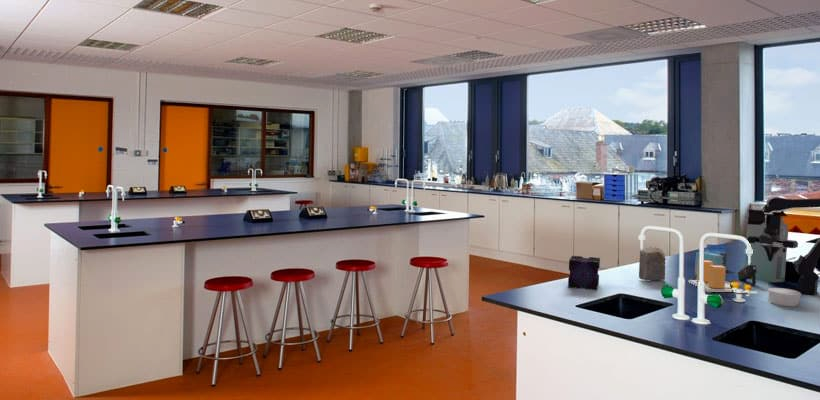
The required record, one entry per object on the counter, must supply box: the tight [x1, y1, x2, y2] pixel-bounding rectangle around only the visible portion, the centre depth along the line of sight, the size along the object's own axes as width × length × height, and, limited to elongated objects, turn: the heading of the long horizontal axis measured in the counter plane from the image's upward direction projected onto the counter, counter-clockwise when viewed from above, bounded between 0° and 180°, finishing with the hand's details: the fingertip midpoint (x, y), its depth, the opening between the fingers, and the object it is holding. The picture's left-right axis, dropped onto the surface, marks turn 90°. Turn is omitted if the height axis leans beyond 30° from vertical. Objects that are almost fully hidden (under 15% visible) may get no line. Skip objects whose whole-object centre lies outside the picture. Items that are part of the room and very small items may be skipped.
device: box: [743, 215, 789, 283], centre depth 294 cm, size 16×8×30 cm, turn 16°
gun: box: [737, 265, 757, 287], centre depth 285 cm, size 3×16×10 cm, turn 175°
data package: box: [694, 251, 723, 276], centre depth 293 cm, size 12×4×12 cm, turn 20°
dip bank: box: [687, 279, 732, 293], centre depth 273 cm, size 17×19×1 cm
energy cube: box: [567, 255, 601, 291], centre depth 270 cm, size 12×12×12 cm
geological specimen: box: [638, 246, 667, 282], centre depth 285 cm, size 11×6×15 cm, turn 109°
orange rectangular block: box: [708, 265, 727, 288], centre depth 266 cm, size 5×4×9 cm
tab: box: [695, 260, 713, 282], centre depth 278 cm, size 5×4×9 cm
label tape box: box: [705, 244, 727, 268], centre depth 318 cm, size 9×4×12 cm, turn 81°
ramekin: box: [767, 287, 802, 307], centre depth 246 cm, size 11×11×5 cm
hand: (770, 261), depth 271 cm, fingers closed
